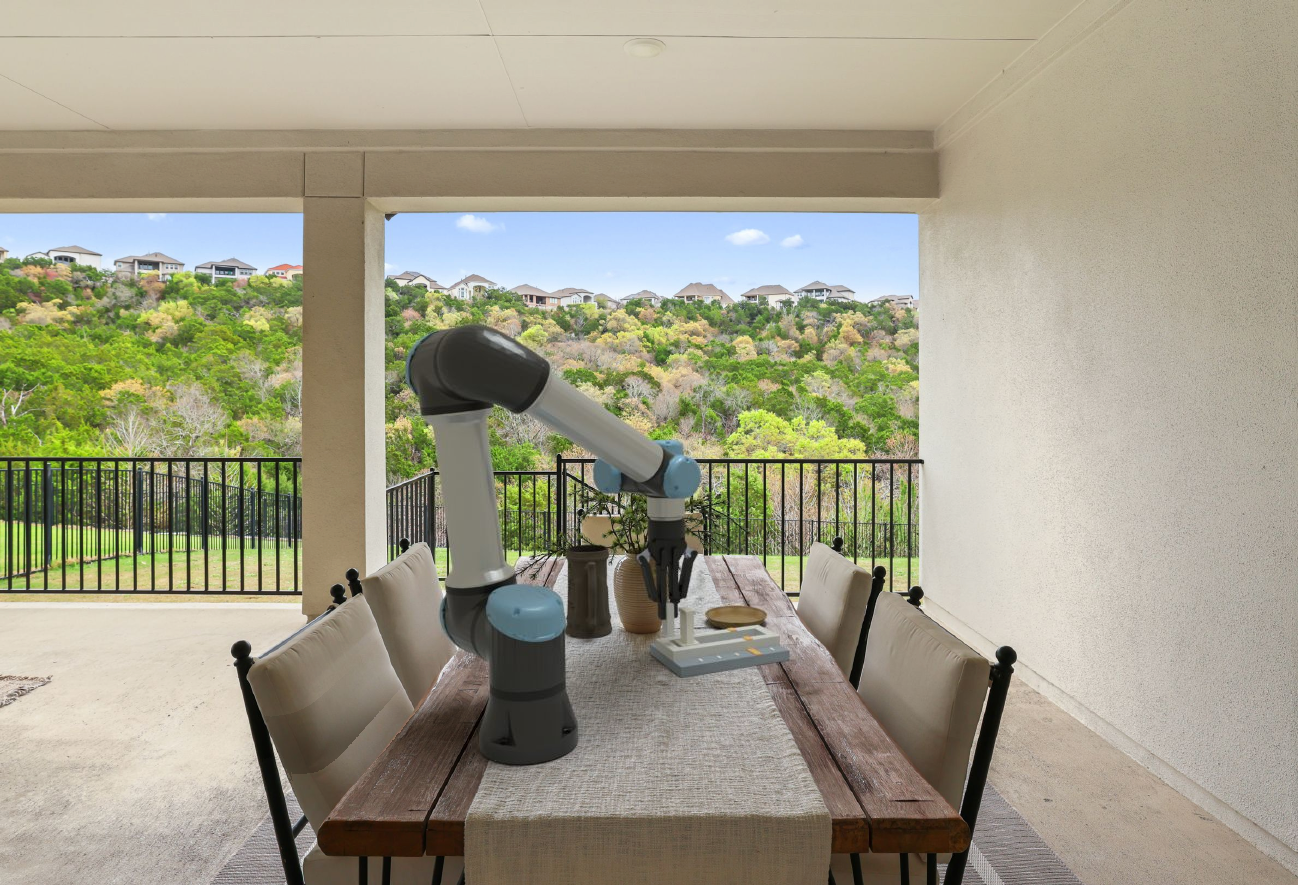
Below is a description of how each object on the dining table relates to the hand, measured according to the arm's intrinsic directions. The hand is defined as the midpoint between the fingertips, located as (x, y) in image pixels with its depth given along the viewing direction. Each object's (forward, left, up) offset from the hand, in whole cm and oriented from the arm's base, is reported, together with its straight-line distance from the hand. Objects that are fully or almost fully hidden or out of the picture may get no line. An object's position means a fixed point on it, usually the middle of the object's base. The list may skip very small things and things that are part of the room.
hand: (668, 634), depth 151 cm
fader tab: (0, -4, -4) cm, 6 cm away
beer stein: (+26, +8, -6) cm, 28 cm away
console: (0, -11, -6) cm, 13 cm away
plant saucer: (+20, -26, -7) cm, 33 cm away
